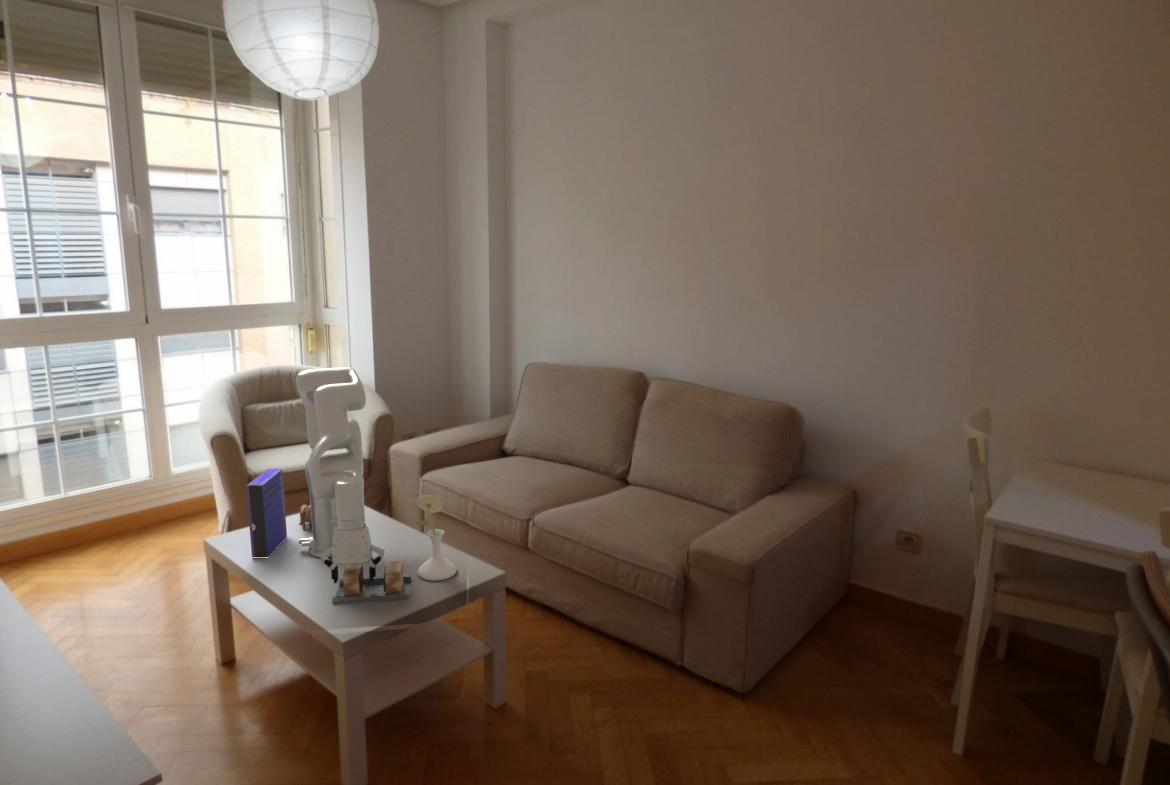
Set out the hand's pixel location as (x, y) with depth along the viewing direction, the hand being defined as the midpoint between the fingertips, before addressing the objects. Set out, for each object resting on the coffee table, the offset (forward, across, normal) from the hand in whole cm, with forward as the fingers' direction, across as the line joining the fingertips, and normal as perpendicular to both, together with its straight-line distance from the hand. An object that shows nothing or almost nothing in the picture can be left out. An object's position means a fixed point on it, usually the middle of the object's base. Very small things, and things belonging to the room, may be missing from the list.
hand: (354, 580), depth 210 cm
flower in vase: (+5, +22, +10) cm, 24 cm away
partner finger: (+4, +11, 0) cm, 12 cm away
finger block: (+4, 0, 0) cm, 4 cm away
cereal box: (+5, -32, +39) cm, 51 cm away
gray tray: (+5, +5, 0) cm, 7 cm away
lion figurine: (+5, -24, +57) cm, 62 cm away
